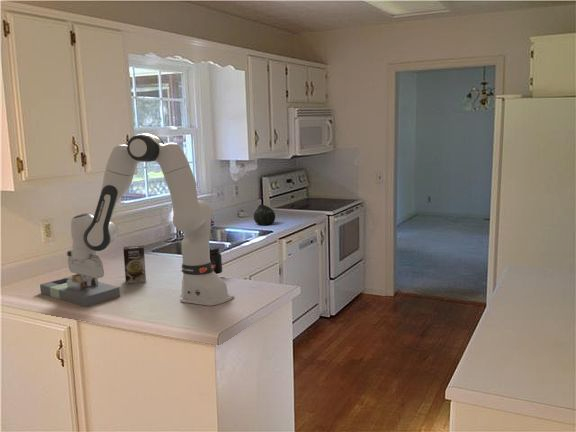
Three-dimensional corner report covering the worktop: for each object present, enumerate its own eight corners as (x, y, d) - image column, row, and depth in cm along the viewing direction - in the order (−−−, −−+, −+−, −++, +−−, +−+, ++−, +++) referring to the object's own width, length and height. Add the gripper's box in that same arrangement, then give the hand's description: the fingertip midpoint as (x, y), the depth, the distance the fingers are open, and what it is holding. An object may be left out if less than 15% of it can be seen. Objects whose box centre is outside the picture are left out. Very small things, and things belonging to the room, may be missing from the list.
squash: (280, 217, 376) (272, 200, 382) (261, 220, 368) (253, 203, 374) (273, 228, 386) (265, 211, 393) (255, 231, 379) (247, 214, 385)
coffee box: (125, 284, 242) (122, 249, 240) (125, 280, 248) (123, 246, 246) (146, 282, 245) (143, 247, 242) (146, 278, 251) (143, 244, 248)
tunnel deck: (120, 296, 225) (118, 278, 223) (85, 307, 212) (84, 288, 211) (74, 284, 245) (73, 268, 244) (40, 293, 232) (39, 276, 231)
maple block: (90, 285, 227) (88, 273, 226) (79, 288, 223) (78, 276, 222) (83, 284, 230) (82, 272, 229) (72, 287, 226) (71, 275, 225)
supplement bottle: (212, 270, 262) (211, 246, 260) (225, 271, 259) (223, 246, 257) (205, 273, 255) (204, 249, 254) (218, 274, 253) (216, 250, 251)
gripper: (106, 254, 217) (109, 287, 220) (77, 248, 229) (80, 279, 232) (92, 257, 212) (95, 291, 215) (64, 251, 224) (67, 283, 227)
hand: (87, 285), depth 223 cm, fingers closed
